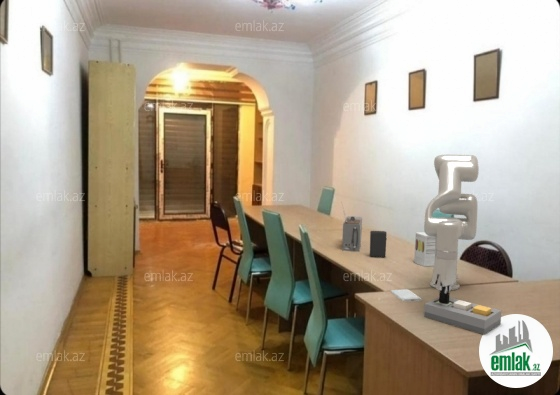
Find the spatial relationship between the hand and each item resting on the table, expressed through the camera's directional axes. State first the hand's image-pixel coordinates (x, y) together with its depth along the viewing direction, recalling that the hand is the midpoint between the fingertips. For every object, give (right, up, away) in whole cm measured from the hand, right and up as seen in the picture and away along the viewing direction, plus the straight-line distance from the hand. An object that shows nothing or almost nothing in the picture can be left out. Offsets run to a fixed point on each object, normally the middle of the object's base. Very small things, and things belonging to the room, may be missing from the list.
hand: (444, 302), depth 169 cm
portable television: (-16, +8, +117) cm, 119 cm away
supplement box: (+18, +3, +77) cm, 79 cm away
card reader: (-5, +5, +92) cm, 93 cm away
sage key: (0, -3, +1) cm, 3 cm away
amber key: (+10, -2, -10) cm, 14 cm away
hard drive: (-8, -3, +22) cm, 24 cm away
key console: (+5, -5, -4) cm, 8 cm away
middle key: (+5, -1, -5) cm, 7 cm away
